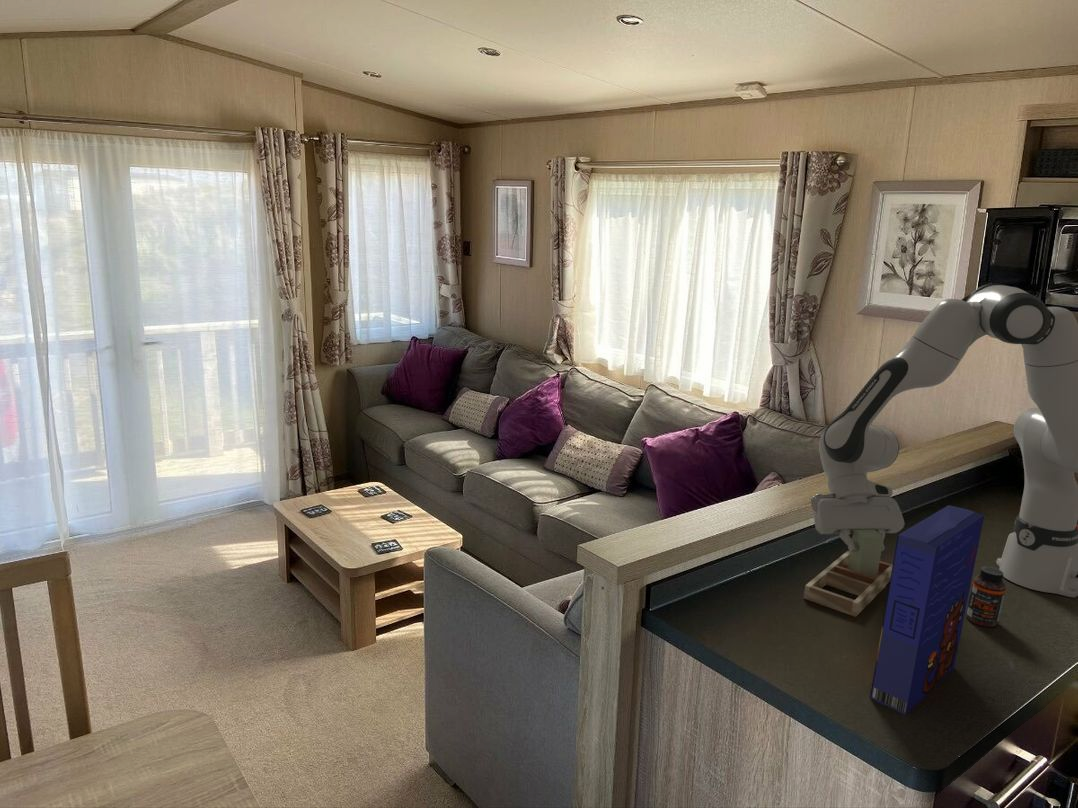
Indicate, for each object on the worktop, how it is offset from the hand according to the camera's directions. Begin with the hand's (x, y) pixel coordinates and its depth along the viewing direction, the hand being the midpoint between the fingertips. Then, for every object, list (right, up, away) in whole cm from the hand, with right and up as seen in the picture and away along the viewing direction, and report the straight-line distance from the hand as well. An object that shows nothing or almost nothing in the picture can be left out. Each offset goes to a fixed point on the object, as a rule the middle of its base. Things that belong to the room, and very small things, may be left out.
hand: (867, 550), depth 179 cm
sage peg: (0, -6, +2) cm, 6 cm away
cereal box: (-7, -16, -38) cm, 42 cm away
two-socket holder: (-5, -8, -3) cm, 10 cm away
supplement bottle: (+17, -12, -15) cm, 26 cm away
